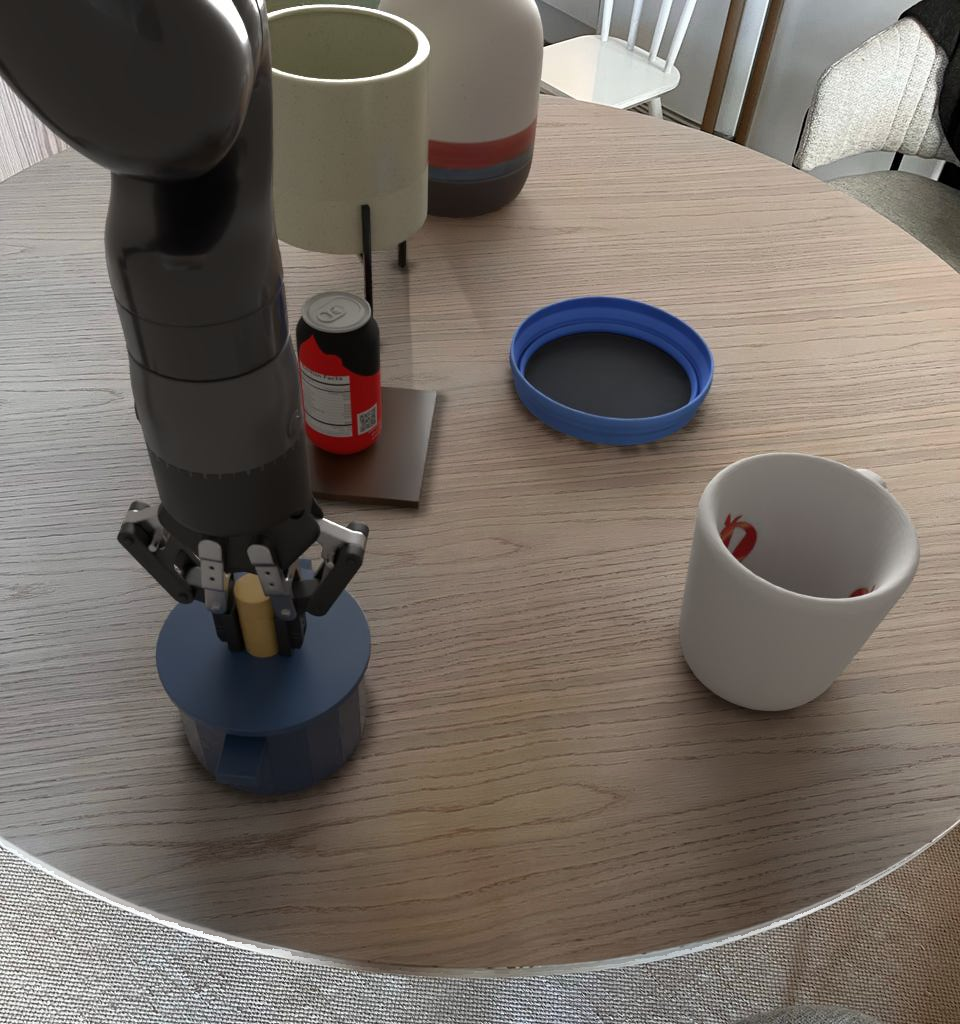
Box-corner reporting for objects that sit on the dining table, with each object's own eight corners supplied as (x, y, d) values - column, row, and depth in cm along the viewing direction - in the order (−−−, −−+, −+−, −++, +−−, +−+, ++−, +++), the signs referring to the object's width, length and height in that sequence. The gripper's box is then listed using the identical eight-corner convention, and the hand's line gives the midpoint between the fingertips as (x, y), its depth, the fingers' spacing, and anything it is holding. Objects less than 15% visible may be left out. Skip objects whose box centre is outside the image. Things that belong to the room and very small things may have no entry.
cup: (755, 528, 82) (808, 389, 71) (910, 619, 77) (992, 484, 66) (619, 660, 72) (656, 523, 62) (785, 773, 67) (857, 646, 57)
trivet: (244, 492, 81) (242, 484, 80) (279, 383, 90) (278, 375, 89) (418, 509, 81) (418, 501, 80) (437, 398, 90) (437, 391, 89)
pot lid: (132, 731, 58) (107, 666, 54) (189, 568, 66) (172, 499, 62) (354, 752, 58) (349, 689, 53) (384, 586, 66) (382, 518, 61)
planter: (462, 295, 100) (474, 41, 82) (349, 367, 92) (335, 103, 74) (349, 236, 105) (337, -14, 87) (233, 299, 97) (194, 38, 79)
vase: (503, 245, 106) (524, -10, 87) (352, 211, 108) (340, -43, 90) (547, 172, 116) (573, -71, 97) (408, 142, 118) (407, -99, 100)
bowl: (725, 358, 96) (735, 326, 93) (676, 477, 85) (685, 444, 82) (546, 308, 99) (550, 275, 96) (476, 416, 88) (479, 382, 86)
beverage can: (397, 437, 85) (396, 312, 75) (340, 472, 82) (332, 346, 72) (346, 402, 87) (339, 276, 78) (290, 434, 84) (275, 307, 75)
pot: (156, 823, 63) (130, 759, 57) (221, 613, 73) (205, 541, 67) (343, 841, 62) (337, 779, 57) (381, 628, 73) (379, 558, 67)
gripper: (381, 380, 50) (387, 606, 64) (101, 353, 50) (166, 585, 64) (357, 483, 46) (369, 704, 59) (49, 454, 46) (131, 681, 59)
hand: (263, 641), depth 61 cm, fingers closed on pot lid, 2 cm apart
